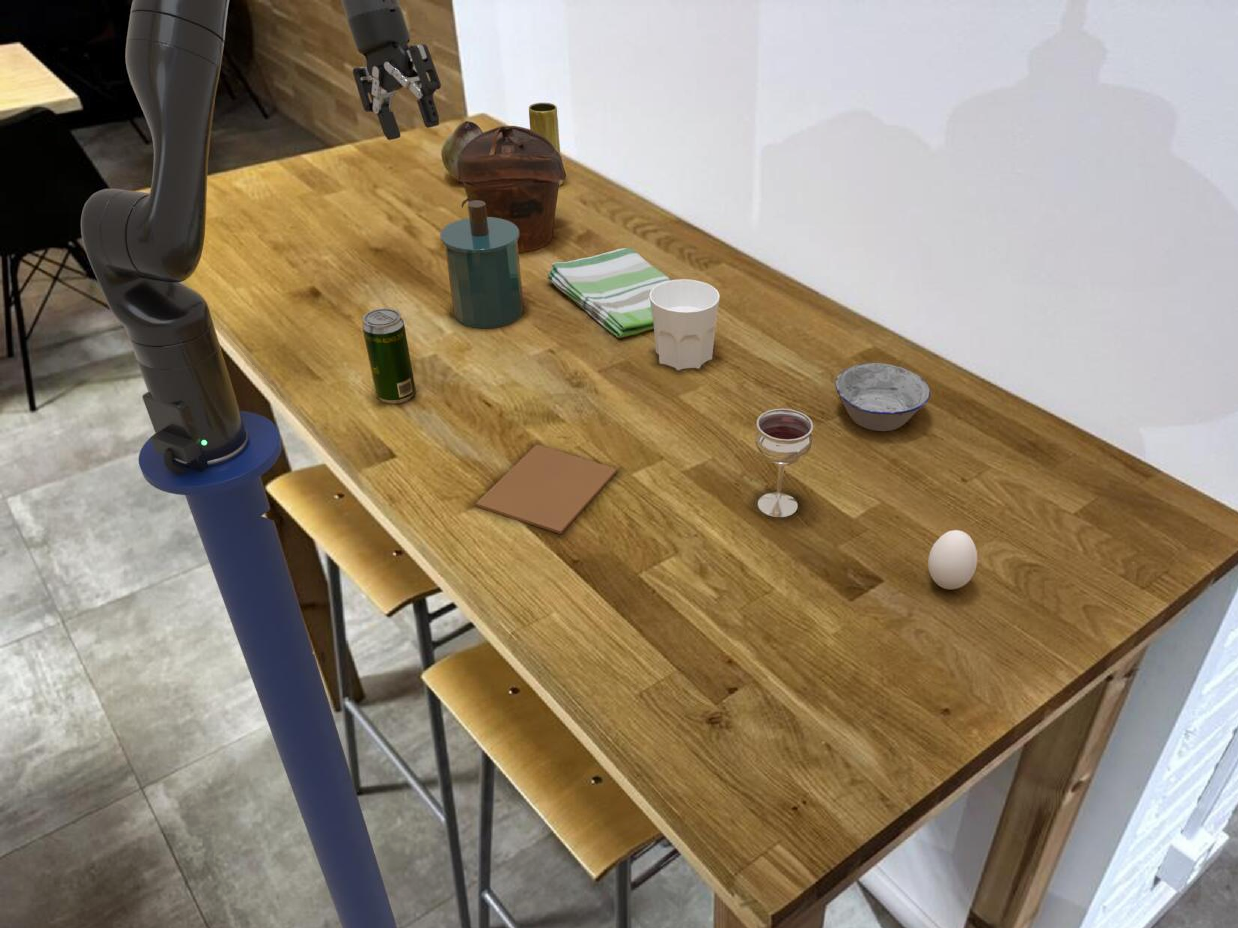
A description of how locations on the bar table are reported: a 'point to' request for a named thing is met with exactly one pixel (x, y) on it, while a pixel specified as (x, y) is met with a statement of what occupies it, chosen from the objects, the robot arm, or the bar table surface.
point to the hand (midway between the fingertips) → (413, 132)
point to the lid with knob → (479, 232)
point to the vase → (545, 123)
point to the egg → (953, 560)
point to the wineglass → (782, 452)
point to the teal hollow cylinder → (486, 287)
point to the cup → (684, 322)
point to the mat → (547, 488)
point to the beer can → (388, 355)
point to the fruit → (458, 145)
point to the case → (514, 180)
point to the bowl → (881, 395)
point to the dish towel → (611, 289)
